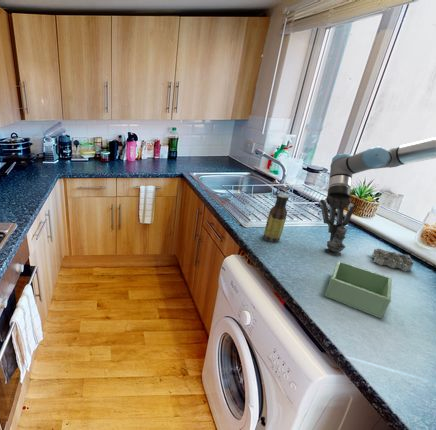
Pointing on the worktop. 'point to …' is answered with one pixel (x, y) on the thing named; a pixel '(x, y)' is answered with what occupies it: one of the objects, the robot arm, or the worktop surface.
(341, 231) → the dark stone statuette
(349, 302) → the box
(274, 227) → the sauce bottle
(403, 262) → the egg carton
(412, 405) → the worktop surface
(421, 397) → the worktop surface
